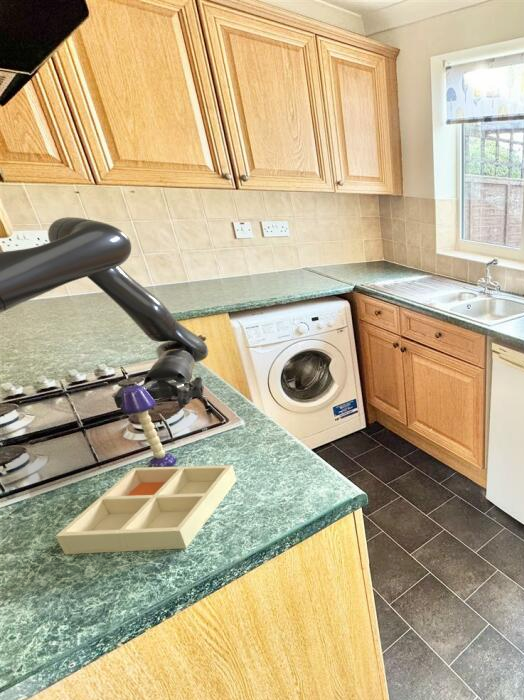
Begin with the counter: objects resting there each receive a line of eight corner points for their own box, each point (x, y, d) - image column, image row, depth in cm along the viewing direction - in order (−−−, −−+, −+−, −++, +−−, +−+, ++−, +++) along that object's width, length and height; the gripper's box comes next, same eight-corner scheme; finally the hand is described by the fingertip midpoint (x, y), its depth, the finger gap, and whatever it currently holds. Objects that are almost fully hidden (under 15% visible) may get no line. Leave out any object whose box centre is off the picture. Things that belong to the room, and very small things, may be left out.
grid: (64, 554, 62) (55, 536, 60) (140, 483, 76) (133, 467, 75) (186, 548, 64) (179, 530, 62) (236, 480, 79) (232, 465, 77)
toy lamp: (148, 475, 78) (118, 396, 71) (143, 464, 81) (113, 387, 74) (179, 464, 82) (153, 388, 75) (173, 454, 85) (147, 380, 78)
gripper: (124, 364, 91) (100, 395, 78) (203, 357, 97) (193, 384, 84) (135, 395, 94) (113, 430, 81) (211, 386, 100) (202, 417, 87)
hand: (154, 407), depth 83 cm, fingers open, 8 cm apart
